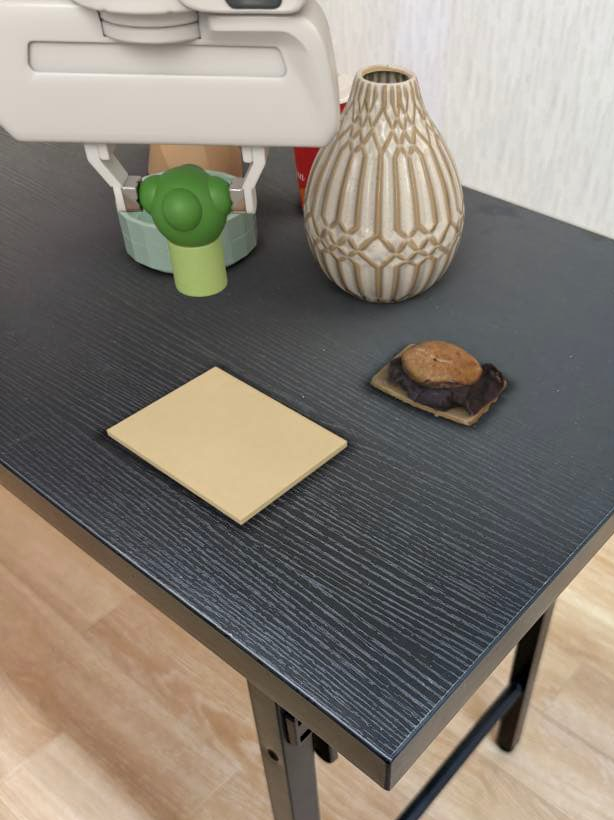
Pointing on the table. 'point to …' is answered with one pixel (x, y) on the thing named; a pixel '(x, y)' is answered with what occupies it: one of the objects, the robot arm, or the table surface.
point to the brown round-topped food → (441, 381)
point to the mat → (228, 443)
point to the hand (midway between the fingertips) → (190, 209)
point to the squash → (195, 158)
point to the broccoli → (190, 225)
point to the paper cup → (307, 154)
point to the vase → (384, 193)
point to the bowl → (152, 245)
